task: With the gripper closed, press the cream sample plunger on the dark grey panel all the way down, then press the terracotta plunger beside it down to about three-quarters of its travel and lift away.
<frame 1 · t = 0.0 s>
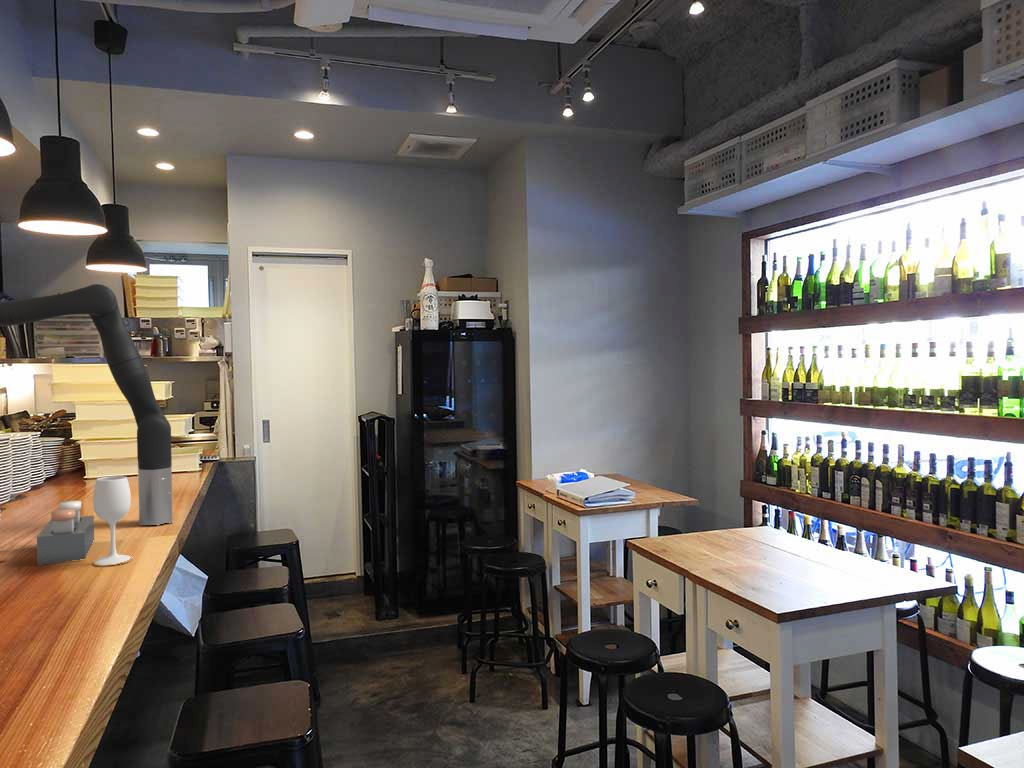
plunger panel: (67, 552, 184), on the worktop
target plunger: (63, 524, 178), point 8 cm above the worktop, slide at 0.0 cm
wineglass: (113, 562, 175), on the worktop
sample plunger: (70, 515, 189), point 9 cm above the worktop, slide at 0.0 cm
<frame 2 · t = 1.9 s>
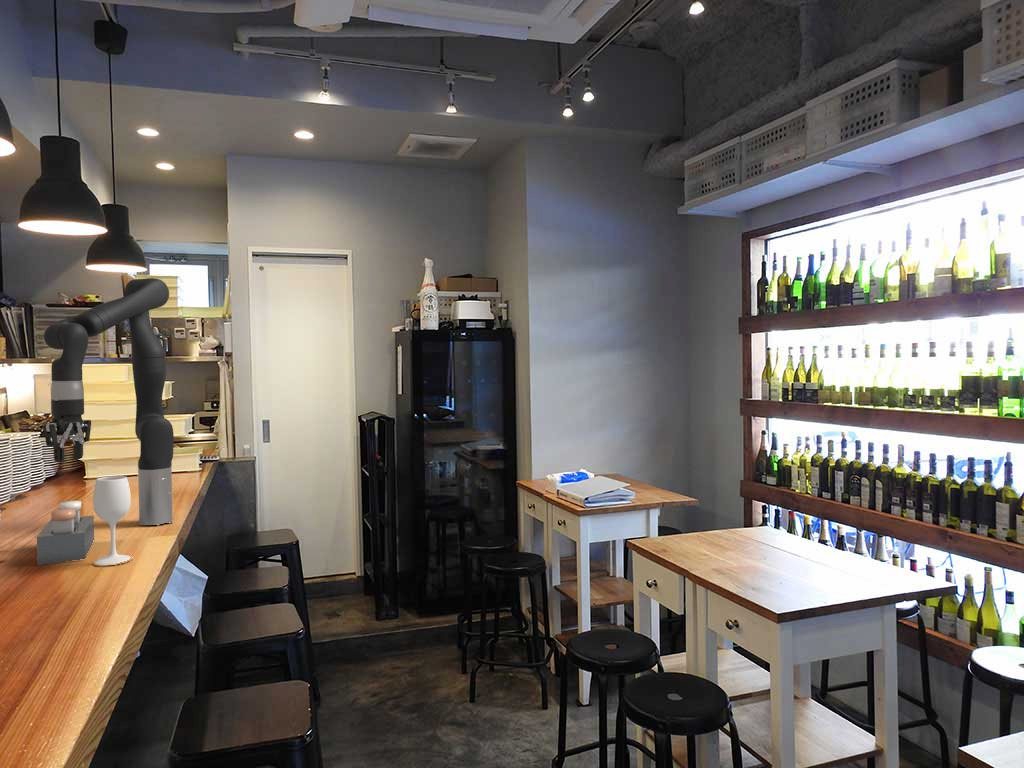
hand: (68, 459, 189), 24 cm above the worktop, tool pointing down, fingers open, 5 cm apart
nothing on the worktop moved.
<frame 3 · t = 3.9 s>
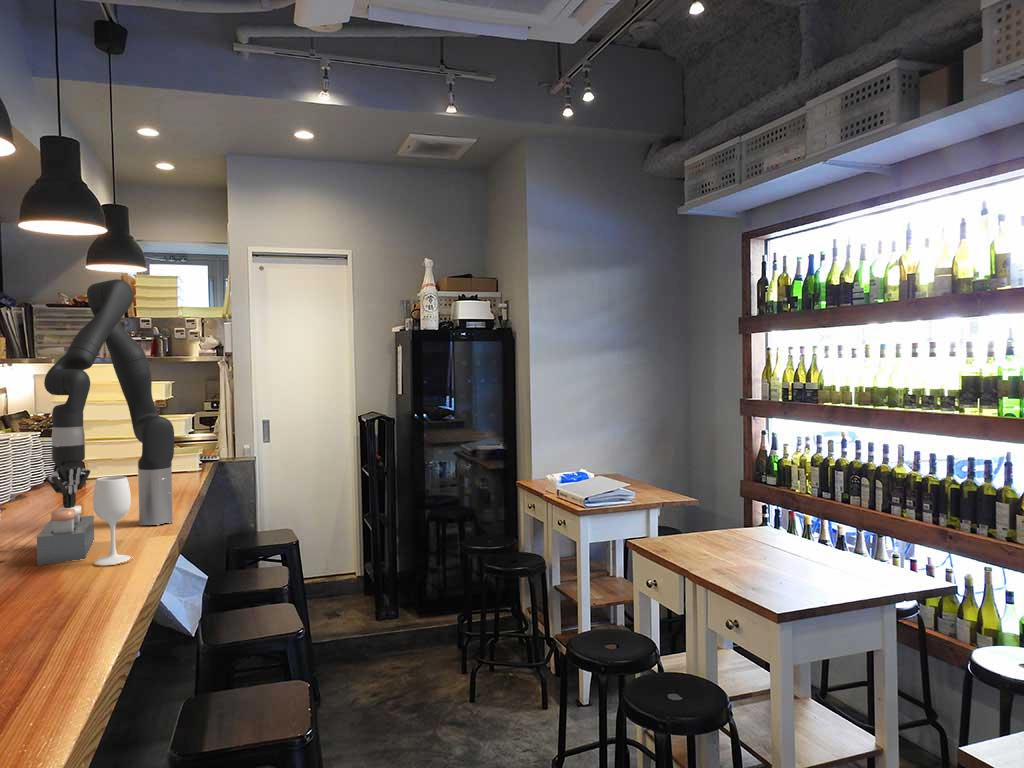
hand: (69, 507, 189), 11 cm above the worktop, tool pointing down, fingers closed
sample plunger: (70, 520, 189), point 7 cm above the worktop, slide at 1.3 cm, touching gripper
everything else where it was.
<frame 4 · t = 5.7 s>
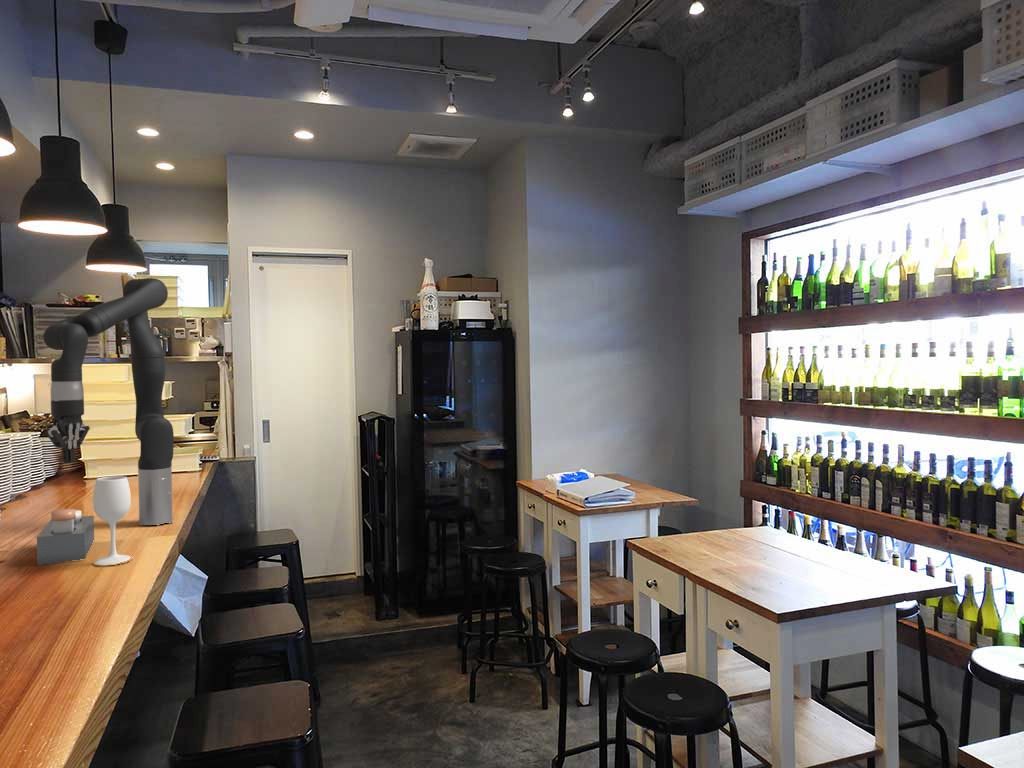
hand: (69, 462, 188), 23 cm above the worktop, tool pointing down, fingers closed
sample plunger: (70, 525, 189), point 6 cm above the worktop, slide at 2.6 cm
everything else where it was.
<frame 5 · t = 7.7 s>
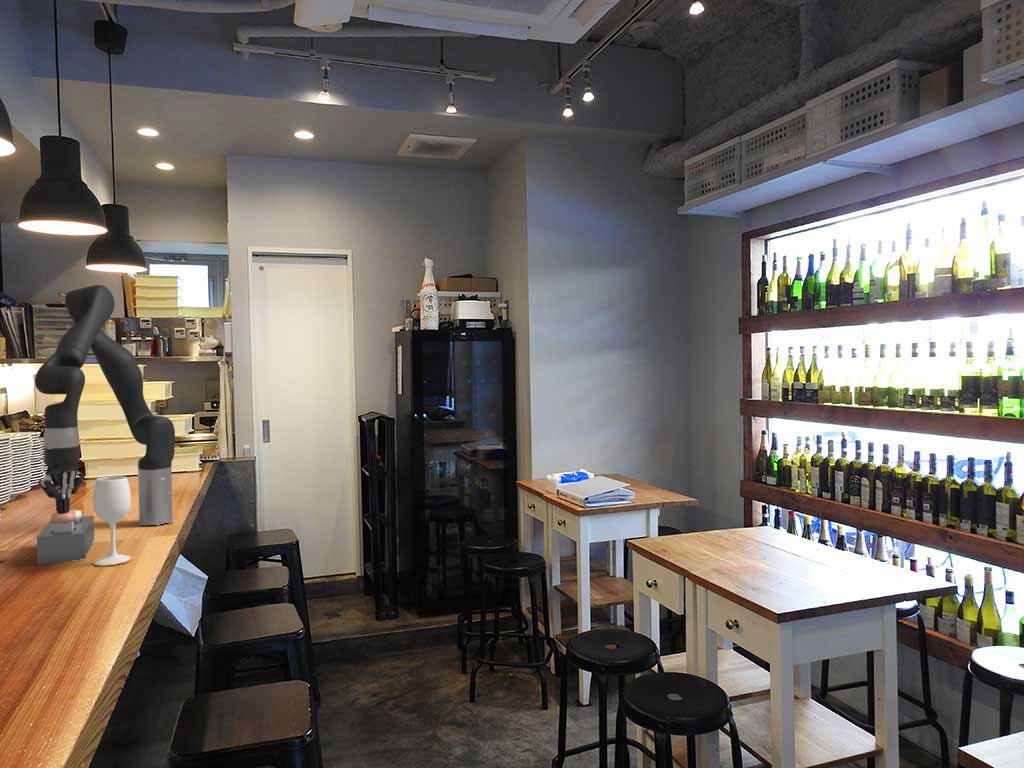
hand: (63, 513, 178), 11 cm above the worktop, tool pointing down, fingers closed
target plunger: (63, 526, 178), point 8 cm above the worktop, slide at 0.5 cm, touching gripper
everything else where it was.
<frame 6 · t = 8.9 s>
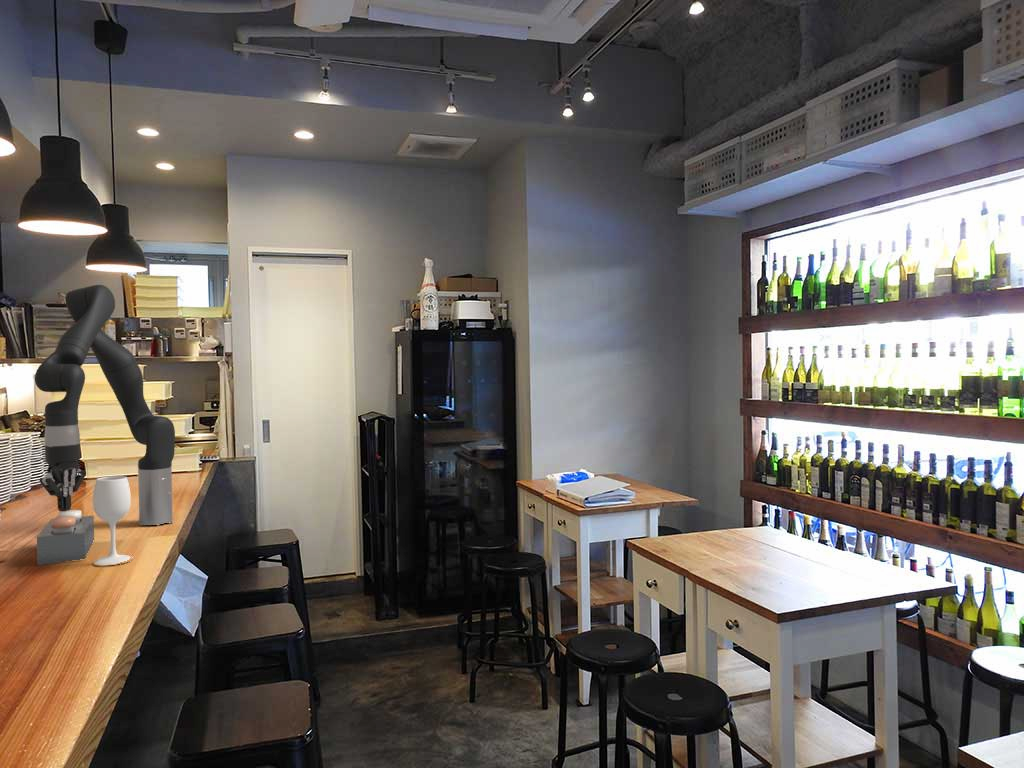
hand: (64, 510, 178), 12 cm above the worktop, tool pointing down, fingers closed
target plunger: (63, 532, 178), point 7 cm above the worktop, slide at 1.9 cm
everything else where it was.
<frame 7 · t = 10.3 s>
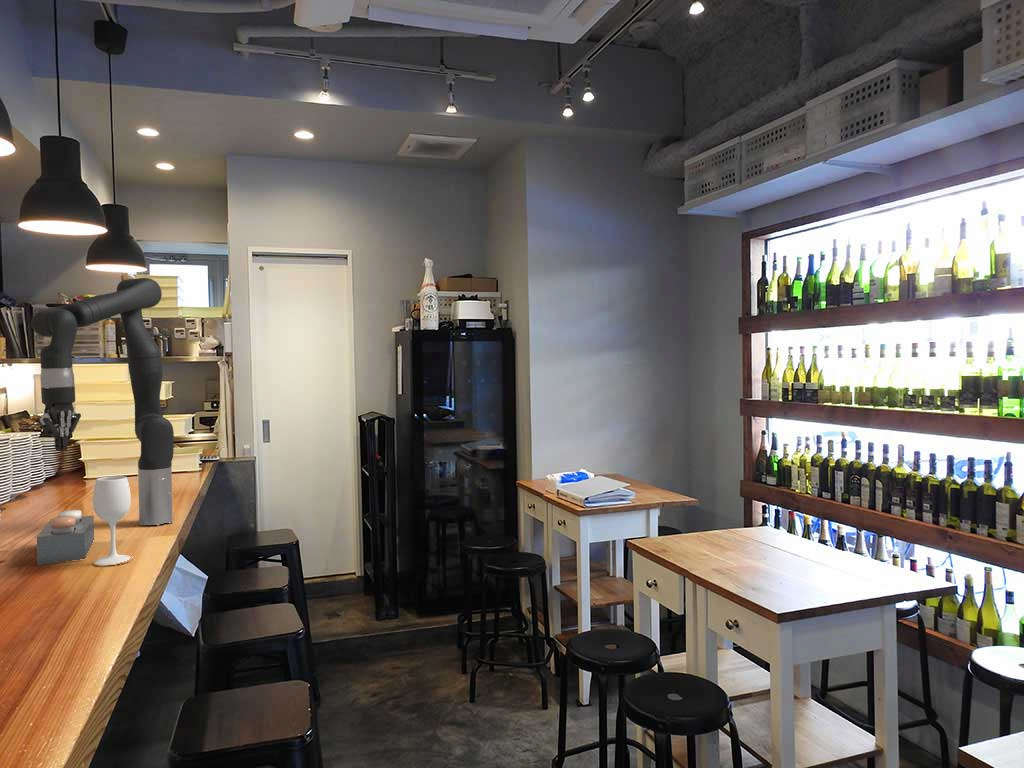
hand: (61, 450, 186), 26 cm above the worktop, tool pointing down, fingers closed
nothing on the worktop moved.
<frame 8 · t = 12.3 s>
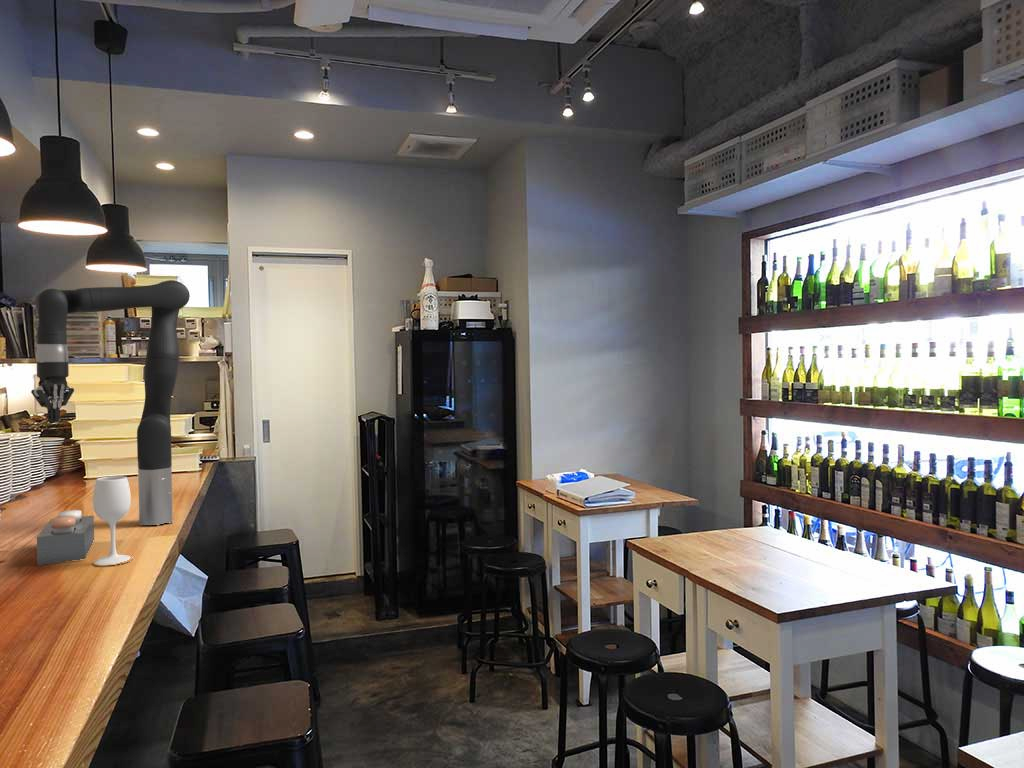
hand: (53, 421, 198), 33 cm above the worktop, tool pointing down, fingers closed
nothing on the worktop moved.
at the end: sample plunger slide at 2.6 cm; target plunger slide at 1.9 cm; wineglass tilted 0° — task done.
